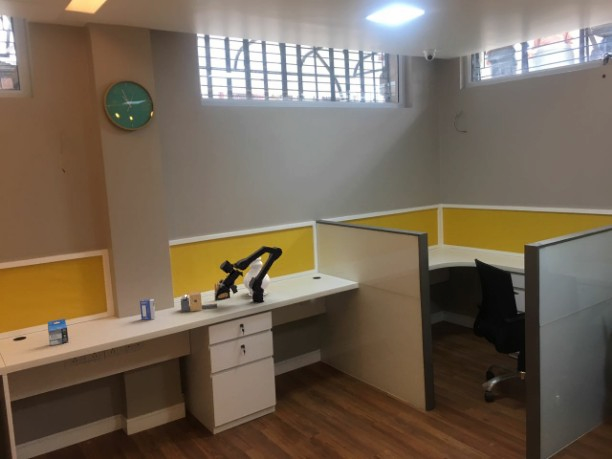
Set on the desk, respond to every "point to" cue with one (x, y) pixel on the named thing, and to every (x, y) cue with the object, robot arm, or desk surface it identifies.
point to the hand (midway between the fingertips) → (216, 296)
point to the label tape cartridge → (57, 332)
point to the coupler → (186, 307)
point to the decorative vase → (253, 273)
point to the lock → (195, 301)
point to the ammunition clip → (223, 295)
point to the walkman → (147, 309)
